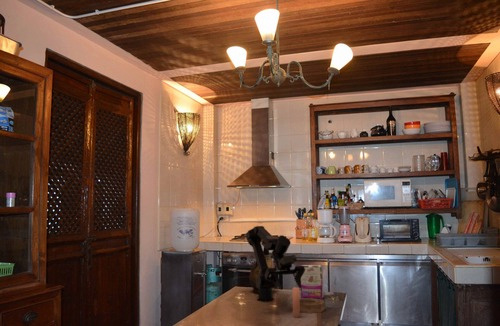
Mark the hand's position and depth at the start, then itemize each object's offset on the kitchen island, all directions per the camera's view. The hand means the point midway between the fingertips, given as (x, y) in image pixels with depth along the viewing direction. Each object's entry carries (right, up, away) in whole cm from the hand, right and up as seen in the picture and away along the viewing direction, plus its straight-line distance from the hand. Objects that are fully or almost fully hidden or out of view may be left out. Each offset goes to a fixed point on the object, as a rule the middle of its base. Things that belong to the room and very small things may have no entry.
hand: (291, 288), depth 176 cm
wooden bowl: (+10, -12, +6) cm, 17 cm away
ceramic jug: (-12, -16, +43) cm, 47 cm away
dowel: (+2, -11, -5) cm, 12 cm away
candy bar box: (+14, -14, +29) cm, 36 cm away
